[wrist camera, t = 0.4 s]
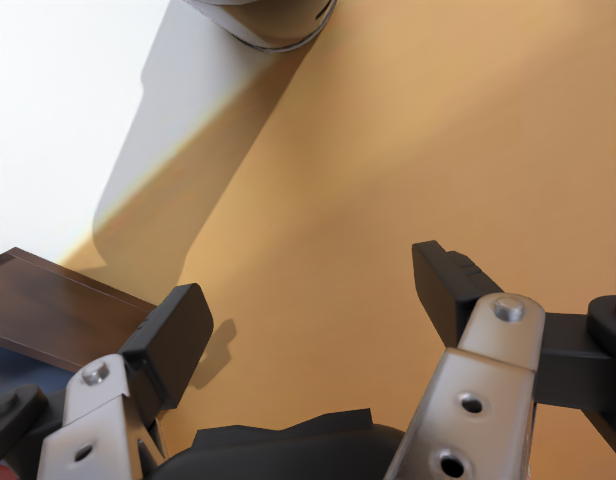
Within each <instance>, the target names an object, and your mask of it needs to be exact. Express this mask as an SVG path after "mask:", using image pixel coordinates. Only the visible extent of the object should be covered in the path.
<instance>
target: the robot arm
mask: <svg viewBox="0 0 616 480" xmlns="http://www.w3.org/2000/svg"><path fill="white" fill-rule="evenodd" d="M183 1H185V2H186V3H188V4H189V5H191V6H192V7H193V8H195V9H196V10H198V11H199V12H201V13H202V14H204V15H205V16H207V17H208V18H210V19H211V20H213V21H214V22H216V23H217V24H219V25H220V26H222V27H223V28H225V29H226V30H227V31H229V32H230V33H231V34H232V35H233V36H234V37H236V38H237V39H238V40H240V41H241V42H243V43H244V44H246V45H247V46H249V47H251V48H253V49H256V50H258V51H262V52H266V53H286V52H290V51H293V50H296V49H298V48H300V47H302V46H304V45H306V44H307V43H309V42H310V41H311V40H312V39H314V38H315V37H316V36H317V35H318V34H319V33H320V31H321V30H322V29H323V28H324V26H325V25H326V23H327V22H328V20H329V18H330V16H331V15H332V13H333V10H334V8H335V5H336V2H337V0H183ZM412 257H413V267H414V278H415V286H416V291H417V294H418V297H419V299H420V301H421V303H422V305H423V307H424V309H425V310H426V312H427V314H428V316H429V318H430V320H431V321H432V323H433V325H434V327H435V329H436V330H437V332H438V334H439V336H440V338H441V339H442V341H443V343H444V345H445V347H446V349H445V351H444V352H443V354H442V357H441V359H440V361H439V363H438V365H437V367H436V369H435V371H434V373H433V376H432V378H431V380H430V382H429V384H428V386H427V388H426V390H425V392H424V395H423V397H422V399H421V401H420V403H419V405H418V407H417V409H416V411H415V413H414V416H413V418H412V420H411V422H410V424H409V426H408V428H407V430H406V432H403V431H400V430H398V429H395V428H392V427H388V426H385V425H380V424H373V422H372V417H371V412H370V408H367V409H359V410H351V411H344V412H336V413H328V414H324V415H321V416H318V417H316V418H313V419H310V420H308V421H305V422H302V423H300V424H297V425H294V426H292V427H289V428H287V429H284V430H279V431H277V430H269V429H262V428H256V427H249V426H242V425H233V426H226V427H218V428H210V429H202V430H197V433H196V436H195V438H194V441H193V444H192V446H191V447H190V448H188V449H186V450H184V451H182V452H180V453H178V454H176V455H174V456H173V457H171V458H169V454H168V451H167V447H166V443H165V440H164V436H163V432H162V429H161V425H160V422H159V421H158V419H157V417H156V416H157V414H158V412H159V411H160V410H167V409H175V408H177V406H178V404H179V402H180V400H181V398H182V396H183V393H184V391H185V389H186V387H187V385H188V383H189V381H190V379H191V377H192V375H193V372H194V370H195V368H196V366H197V364H198V362H199V360H200V358H201V356H202V354H203V352H204V349H205V347H206V345H207V343H208V341H209V339H210V337H211V335H212V332H213V327H214V323H213V317H212V314H211V312H210V310H209V307H208V305H207V302H206V300H205V297H204V295H203V292H202V290H201V287H200V286H199V285H198V284H197V283H192V284H187V285H181V286H176V287H175V288H174V289H173V290H172V291H171V293H170V294H169V295H168V296H167V297H166V299H165V300H164V301H163V302H162V303H161V304H160V305H159V306H157V307H156V308H155V309H153V310H152V311H151V312H150V314H149V315H148V316H147V317H146V318H145V320H144V322H142V323H141V324H140V326H139V327H138V330H135V332H134V333H133V334H132V335H131V336H130V337H129V339H128V340H127V341H126V342H125V343H124V345H123V346H122V347H121V348H120V349H119V351H118V352H117V353H116V354H111V355H106V356H103V357H101V358H98V359H96V360H94V361H92V362H91V363H89V364H87V365H86V366H84V367H83V368H82V369H80V370H79V371H78V372H77V373H76V374H75V375H74V376H73V377H72V378H71V379H70V381H69V382H68V384H67V387H66V388H64V389H61V390H59V391H56V392H53V393H51V394H48V395H45V394H44V393H43V392H42V390H41V389H40V388H39V386H38V385H37V384H35V383H29V384H24V385H21V386H18V387H16V388H14V389H12V390H10V391H8V392H6V393H4V394H2V395H1V396H0V461H1V460H2V461H3V462H4V463H5V464H6V465H7V466H8V467H9V468H10V469H11V470H12V472H13V473H14V474H15V475H16V476H17V477H18V478H17V480H527V474H528V467H529V459H530V452H531V445H532V438H533V431H534V424H535V417H536V410H537V403H540V404H547V405H554V406H561V407H568V408H574V409H581V411H582V412H583V413H584V414H585V416H586V417H587V418H588V419H589V421H590V422H591V423H592V424H593V425H594V427H595V428H596V429H597V430H598V432H599V433H600V434H601V435H602V437H603V438H604V439H605V440H606V442H607V443H608V444H609V445H610V446H611V448H612V449H613V450H614V451H615V453H616V295H610V296H602V297H598V298H596V299H594V300H592V301H591V302H590V303H589V307H588V313H587V315H583V314H561V313H548V312H545V311H544V309H543V307H542V306H541V305H540V304H539V303H537V302H536V301H534V300H532V299H530V298H528V297H525V296H522V295H519V294H514V293H505V292H504V291H503V290H502V289H501V288H500V287H499V286H498V285H497V284H496V283H495V282H493V281H492V280H491V279H490V278H489V277H488V276H487V275H486V274H485V273H484V272H482V270H481V269H480V268H479V267H478V266H475V263H474V262H472V261H471V260H470V259H469V258H468V257H467V256H465V255H463V254H460V253H458V252H456V251H449V252H446V251H445V250H444V249H443V248H442V247H441V246H440V245H439V244H438V243H437V242H436V241H435V240H432V241H426V242H421V243H415V244H413V245H412Z"/></svg>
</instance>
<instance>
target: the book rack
mask: <svg viewBox="0 0 616 480" xmlns="http://www.w3.org/2000/svg"><path fill="white" fill-rule="evenodd" d="M156 307H157V306H155V305H152V304H150V303H147V302H145V301H143V300H140V299H138V298H136V297H133V296H131V295H128V294H126V293H124V292H121V291H119V290H117V289H114V288H112V287H109V286H107V285H105V284H102V283H100V282H98V281H95V280H93V279H90V278H88V277H86V276H83V275H81V274H79V273H76V272H74V271H71V270H69V269H67V268H64V267H62V266H60V265H57V264H55V263H52V262H50V261H48V260H45V259H43V258H41V257H38V256H36V255H33V254H31V253H29V252H26V251H24V250H22V249H19V248H17V247H14V248H12V249H10V250H8V251H7V252H4V253H2V254H0V396H1V395H2V394H4V393H6V392H8V391H10V390H12V389H14V388H16V387H18V386H21V385H24V384H29V383H35V384H37V385H38V386H39V388H40V389H41V390H42V392H43V393H44V394H45V395H48V394H51V393H53V392H56V391H59V390H61V389H64V388H66V387H67V384H68V382H69V381H70V379H71V378H72V377H73V376H74V375H75V374H76V373H77V372H78V371H79V370H80V369H82V368H83V367H84V366H86V365H87V364H89V363H91V362H92V361H94V360H96V359H98V358H101V357H103V356H106V355H111V354H116V353H117V352H118V351H119V349H120V348H121V347H122V346H123V345H124V343H125V342H126V341H127V340H128V339H129V337H130V336H131V335H132V334H133V333H134V332H135V330H138V327H139V326H140V324H141V323H142V322H144V320H145V318H146V317H147V316H148V315H149V314H150V312H151V311H152V310H153V309H155V308H156ZM17 478H18V477H17V476H16V475H15V474H14V473H13V472H12V470H11V469H10V468H9V467H8V466H7V465H6V464H5V463H4V462H3V461H2V460H1V461H0V480H17Z"/></svg>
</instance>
